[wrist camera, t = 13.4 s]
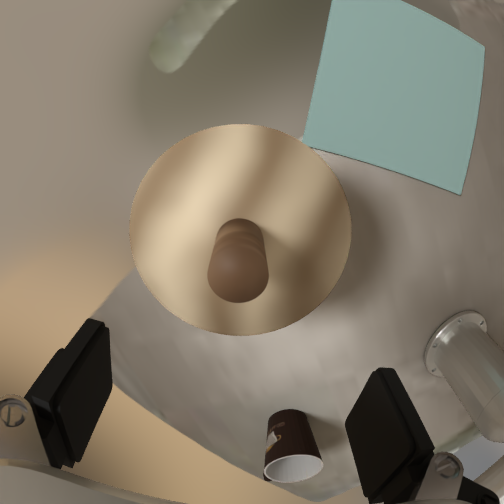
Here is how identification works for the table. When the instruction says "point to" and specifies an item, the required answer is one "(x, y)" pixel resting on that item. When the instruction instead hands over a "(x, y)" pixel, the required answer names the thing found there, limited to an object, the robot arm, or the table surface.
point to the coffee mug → (290, 448)
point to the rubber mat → (397, 91)
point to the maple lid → (240, 229)
